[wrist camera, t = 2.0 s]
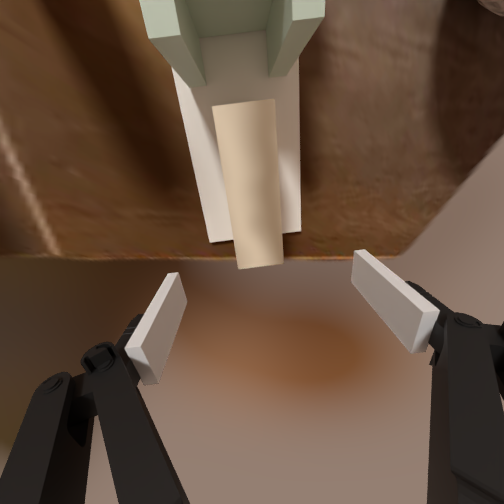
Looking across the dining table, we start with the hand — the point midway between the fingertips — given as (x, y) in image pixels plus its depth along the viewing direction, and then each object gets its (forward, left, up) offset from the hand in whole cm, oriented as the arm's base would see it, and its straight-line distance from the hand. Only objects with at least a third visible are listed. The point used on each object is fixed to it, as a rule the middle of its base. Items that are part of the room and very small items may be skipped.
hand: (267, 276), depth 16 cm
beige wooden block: (0, +5, -17) cm, 17 cm away
